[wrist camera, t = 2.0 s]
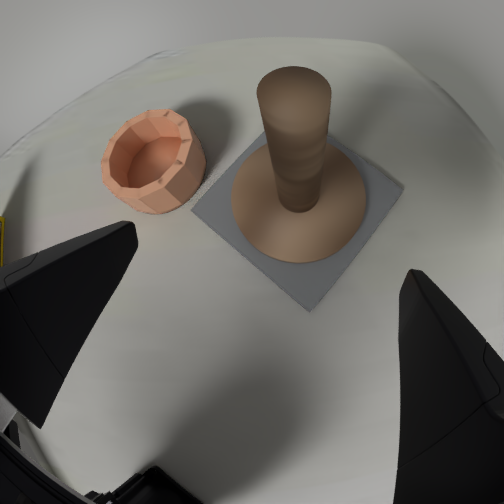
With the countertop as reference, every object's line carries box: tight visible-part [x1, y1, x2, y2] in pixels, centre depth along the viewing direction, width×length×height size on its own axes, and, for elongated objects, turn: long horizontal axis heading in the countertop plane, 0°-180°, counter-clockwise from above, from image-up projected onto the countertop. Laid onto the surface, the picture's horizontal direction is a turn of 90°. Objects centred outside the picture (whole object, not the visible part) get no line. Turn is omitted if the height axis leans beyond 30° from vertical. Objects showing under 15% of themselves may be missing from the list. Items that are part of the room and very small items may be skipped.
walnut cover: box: [231, 66, 366, 264], centre depth 16 cm, size 10×10×12 cm
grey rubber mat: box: [191, 131, 403, 312], centre depth 22 cm, size 12×12×1 cm
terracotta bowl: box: [101, 109, 206, 214], centre depth 23 cm, size 8×8×4 cm
